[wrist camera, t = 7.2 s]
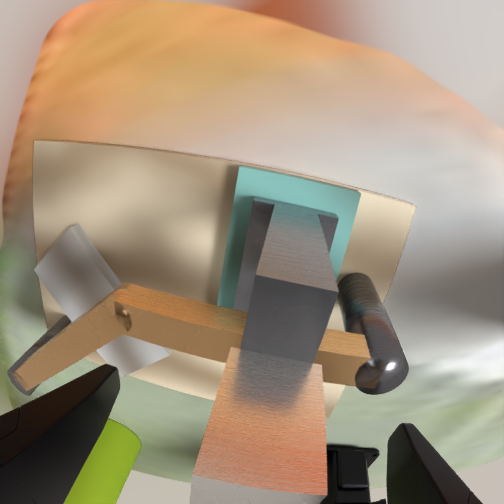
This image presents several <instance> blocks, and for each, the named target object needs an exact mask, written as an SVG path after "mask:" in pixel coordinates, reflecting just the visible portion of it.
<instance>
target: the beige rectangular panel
mask: <svg viewBox="0 0 504 504" xmlns="http://www.w3.org/2000/svg"><path fill="white" fill-rule="evenodd" d="M255 196H258V197H263V198H268V199H273V200H278V201H282V202H287V203H292V204H296V205H301V206H305V207H310V208H314V209H319V210H323V211H327V212H332V213H336V214H337V216H338V218H339V220H338V224H337V228H336V231H335V235H334V239H333V242H332V246H331V250H330V253H329V256H330V260H331V263H332V267H333V271H334V275H335V279H336V283H337V286H338V284H339V282H340V280H341V279H342V278H343V277H345V276H346V275H348V274H351V273H356V272H358V273H363V274H366V275H367V276H368V277H370V279H371V280H372V282H373V284H374V286H375V288H376V291H377V293H378V295H379V297H380V299H381V301H382V304H383V303H384V300H385V298H386V295H387V293H388V290H389V287H390V285H391V282H392V280H393V277H394V274H395V271H396V269H397V266H398V263H399V260H400V257H401V254H402V251H403V248H404V245H405V242H406V239H407V236H408V233H409V230H410V227H411V223H412V220H413V217H414V213H415V210H416V206H415V205H413V204H412V203H410V202H406V201H403V200H400V199H396V198H393V197H389V196H386V195H382V194H378V193H375V192H371V191H367V190H364V189H360V188H356V187H352V186H348V185H344V184H340V183H336V182H332V181H328V180H324V179H320V178H315V177H311V176H306V175H302V174H297V173H293V172H288V171H283V170H279V169H274V168H269V167H264V166H259V165H253V164H248V163H243V162H237V161H232V160H226V159H220V158H214V157H208V156H202V155H195V154H188V153H181V152H174V151H167V150H159V149H151V148H143V147H134V146H125V145H115V144H104V143H93V142H79V141H64V140H44V139H43V140H36V141H34V153H33V220H34V236H35V248H36V258H37V266H36V268H35V269H34V271H35V273H36V274H37V276H38V277H39V282H40V289H41V296H42V302H43V307H44V313H45V318H46V323H47V328H48V330H49V329H50V328H51V327H52V326H53V325H55V324H56V323H57V322H58V321H59V320H60V319H61V318H62V317H63V316H65V315H67V316H68V318H69V319H70V320H71V321H72V322H73V321H74V320H76V319H77V318H78V317H79V316H81V315H82V314H83V313H85V312H86V311H87V310H88V309H90V308H91V307H92V306H94V305H95V304H96V303H98V302H99V301H100V300H101V299H103V298H104V297H105V296H107V295H108V294H109V293H111V292H112V291H113V290H115V289H116V288H117V287H119V286H120V285H121V284H124V283H132V284H135V285H139V286H143V287H146V288H150V289H154V290H158V291H161V292H165V293H169V294H173V295H177V296H181V297H185V298H189V299H193V300H197V301H201V302H205V303H209V304H213V305H218V306H222V307H226V308H231V309H233V308H234V302H235V297H236V291H237V286H238V280H239V275H240V269H241V264H242V258H243V252H244V247H245V241H246V236H247V231H248V225H249V220H250V214H251V209H252V203H253V199H254V198H255ZM327 329H333V330H338V331H344V332H345V329H344V325H343V320H342V315H341V311H340V306H339V302H338V297H337V299H336V302H335V305H334V308H333V311H332V314H331V316H330V319H329V322H328V325H327ZM84 358H85V359H88V360H90V361H93V362H95V363H98V364H100V365H104V364H109V365H112V366H115V367H117V368H118V371H119V376H120V377H124V376H126V375H130V376H133V377H136V378H139V379H142V380H145V381H148V382H151V383H154V384H157V385H160V386H164V387H167V388H170V389H174V390H177V391H181V392H184V393H188V394H191V395H195V396H199V397H203V398H207V399H210V400H215V398H216V395H217V392H218V388H219V385H220V382H221V379H222V375H223V372H224V369H225V365H226V363H223V362H218V361H214V360H210V359H206V358H202V357H199V356H195V355H191V354H187V353H184V352H180V351H176V350H173V349H169V348H166V347H162V346H159V345H156V344H152V343H149V342H146V341H143V340H139V339H136V338H133V337H130V336H127V335H124V334H123V335H121V336H119V337H118V338H116V339H114V340H113V341H111V342H109V343H108V344H106V345H104V346H103V347H101V348H99V349H97V350H96V351H94V352H92V353H91V354H89V355H87V356H86V357H84ZM345 386H346V385H340V384H333V383H326V382H323V389H324V405H325V421H327V420H328V418H329V416H330V415H331V413H332V411H333V409H334V407H335V406H336V404H337V402H338V400H339V398H340V396H341V394H342V392H343V390H344V388H345Z"/></svg>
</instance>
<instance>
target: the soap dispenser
mask: <svg viewBox="0 0 504 504" xmlns="http://www.w3.org/2000/svg"><path fill="white" fill-rule="evenodd" d="M140 449H141V442H140V440H139V438H138V437H137V436H136V435H135V434H134V433H133V432H132V431H131V430H129V429H128V428H126V427H125V426H123V425H121V424H120V423H117V422H115V421H113V420H110V419H108V420H107V422H106V425H105V427H104V429H103V431H102V433H101V435H100V437H99V438H98V440H97V442H96V444H95V446H94V447H93V449H92V451H91V453H90V455H89V457H88V458H87V460H86V462H85V464H84V466H83V468H82V469H81V471H80V473H79V475H78V477H77V479H76V481H75V483H74V484H73V486H72V488H71V490H70V492H69V494H68V496H67V498H66V500H65V502H64V504H116V502H117V500H118V497H119V495H120V493H121V491H122V488H123V486H124V484H125V482H126V480H127V477H128V475H129V473H130V471H131V469H132V467H133V464H134V462H135V460H136V458H137V456H138V453H139V451H140Z"/></svg>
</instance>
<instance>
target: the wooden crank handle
mask: <svg viewBox="0 0 504 504" xmlns="http://www.w3.org/2000/svg"><path fill="white" fill-rule="evenodd" d="M337 287H338V291H339V293H338V296H337V297H338V302H339V306H340V311H341V315H342V320H343V325H344V329H345V332H344V331H338V330H333V329H327V328H326V330H325V333H324V336H323V339H322V341H321V344H320V347H319V349H318V352H317V354H316V357H315V360H314V362H313V363H314V364H320V365H322V374H323V382H326V383H333V384H340V385H348V386H356V387H357V388H358V389H359V390H360V391H362V392H363V393H366V394H371V395H377V394H383V393H386V392H389V391H391V390H393V389H395V388H396V387H398V386H399V385H400V384H401V383H402V382H403V381H404V380H405V378H406V376H407V374H408V370H409V367H408V363H407V360H406V358H405V355H404V353H403V350H402V348H401V345H400V343H399V341H398V338H397V336H396V333H395V331H394V329H393V326H392V324H391V322H390V319H389V317H388V315H387V313H386V310H385V308H384V306H383V304H382V301H381V299H380V297H379V295H378V293H377V291H376V288H375V286H374V284H373V282H372V280H371V279H370V277H368V276H367V275H366V274H363V273H358V272H356V273H351V274H348V275H346V276H345V277H343V278H342V279H341V280H340V282H339V284H338V286H337ZM247 314H248V312H244V311H239V310H235V309H231V308H226V307H222V306H218V305H213V304H209V303H205V302H201V301H197V300H193V299H189V298H185V297H181V296H177V295H173V294H169V293H165V292H161V291H158V290H154V289H150V288H146V287H143V286H139V285H135V284H132V283H124V284H121V285H120V286H119V287H117V288H116V289H115V290H113V291H112V292H111V293H109V294H108V295H107V296H105V297H104V298H103V299H101V300H100V301H99V302H98V303H96V304H95V305H94V306H92V307H91V308H90V309H88V310H87V311H86V312H85V313H83V314H82V315H81V316H79V317H78V318H77V319H76V320H74V321H73V322H72V321H71V320H70V319H69V318H68V316H67V315H65V316H63V317H62V318H61V319H60V320H59V321H58V322H57V323H56V324H55V325H53V326H52V327H51V328H50V329H49V330H48V331H47V332H46V333H45V334H44V335H43V336H42V337H41V338H40V339H39V340H38V341H37V342H36V343H35V344H34V345H33V346H32V347H31V348H30V349H29V350H28V351H27V352H26V353H25V354H24V355H23V356H22V357H21V358H20V359H19V360H18V361H17V362H16V363H15V364H14V365H13V366H12V367H11V368H10V369H9V370H8V376H9V378H10V380H11V382H12V383H13V384H14V386H15V387H16V388H17V389H18V390H19V391H21V392H22V393H23V394H25V395H28V396H30V395H31V394H32V393H33V392H34V390H35V389H36V388H37V387H38V386H39V385H40V383H42V382H43V381H45V380H47V379H49V378H50V377H52V376H54V375H55V374H57V373H59V372H60V371H62V370H64V369H65V368H67V367H69V366H70V365H72V364H74V363H76V362H77V361H79V360H81V359H82V358H84V357H86V356H87V355H89V354H91V353H92V352H94V351H96V350H97V349H99V348H101V347H103V346H104V345H106V344H108V343H109V342H111V341H113V340H114V339H116V338H118V337H119V336H121V335H123V334H124V335H127V336H130V337H133V338H136V339H139V340H143V341H146V342H149V343H152V344H156V345H159V346H162V347H166V348H169V349H173V350H176V351H180V352H184V353H187V354H191V355H195V356H199V357H202V358H206V359H210V360H214V361H218V362H223V363H226V362H227V359H228V355H229V352H230V349H231V347H234V348H238V349H240V348H241V343H242V338H243V333H244V328H245V324H246V319H247Z"/></svg>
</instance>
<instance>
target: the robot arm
mask: <svg viewBox="0 0 504 504" xmlns="http://www.w3.org/2000/svg"><path fill="white" fill-rule="evenodd" d="M119 390H120V379H119V371H118V368H117V367H115V366H112V365H109V364H104V365H102V366H100V367H98V368H96V369H94V370H92V371H90V372H88V373H86V374H84V375H82V376H80V377H78V378H76V379H74V380H72V381H70V382H68V383H66V384H65V385H63V386H61V387H59V388H57V389H55V390H53V391H51V392H49V393H47V394H45V395H43V396H41V397H39V398H37V399H35V400H32V401H30V402H28V403H26V404H24V405H22V406H21V407H20V408H19V407H18V408H16V409H14V410H12V411H10V412H7V413H5V414H3V415H1V416H0V504H64V502H65V500H66V498H67V496H68V494H69V492H70V490H71V488H72V486H73V484H74V483H75V481H76V479H77V477H78V475H79V473H80V471H81V469H82V468H83V466H84V464H85V462H86V460H87V458H88V457H89V455H90V453H91V451H92V449H93V447H94V446H95V444H96V442H97V440H98V438H99V437H100V435H101V433H102V431H103V429H104V427H105V425H106V422H107V420H108V417H109V415H110V412H111V410H112V407H113V405H114V403H115V400H116V398H117V395H118V393H119ZM326 451H327V496H326V497H325V498H324V499H323V500H322V501H321V502H320V503H319V504H386V499H381V500H380V501H376V502H372V503H371V500H370V491H369V477H368V468H369V466H370V465H371V464H372V463H373V462H374V461H375V460H376V458H377V457H378V456H379V455H380V454H379V450H377V449H354V448H339V447H327V446H326ZM387 500H388V501H387V502H388V504H482V502H481V501H480V500H479V499H478V498H477V497H476V496H475V495H474V493H473V492H472V491H470V489H469V488H468V487H467V486H466V484H465V483H464V482H463V481H462V480H461V479H460V477H459V476H458V475H457V474H456V473H455V472H454V470H453V469H452V468H451V467H450V466H449V465H448V464H447V462H446V461H445V460H444V459H443V458H442V457H441V456H440V454H439V453H438V452H437V451H436V450H435V449H434V448H433V446H432V445H431V444H430V443H429V442H428V441H427V440H426V438H425V437H424V436H423V435H422V434H421V433H420V432H419V430H418V429H417V428H416V427H415V426H414V425H413V424H411V423H401V424H400V425H399V426H398V427H397V428H396V430H395V431H394V432H393V434H392V435H391V436H390V438H389V440H388V454H387Z"/></svg>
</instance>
